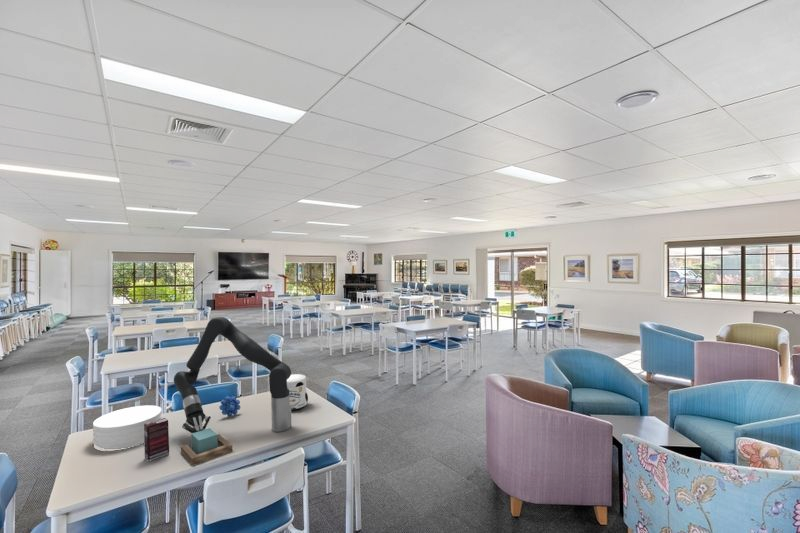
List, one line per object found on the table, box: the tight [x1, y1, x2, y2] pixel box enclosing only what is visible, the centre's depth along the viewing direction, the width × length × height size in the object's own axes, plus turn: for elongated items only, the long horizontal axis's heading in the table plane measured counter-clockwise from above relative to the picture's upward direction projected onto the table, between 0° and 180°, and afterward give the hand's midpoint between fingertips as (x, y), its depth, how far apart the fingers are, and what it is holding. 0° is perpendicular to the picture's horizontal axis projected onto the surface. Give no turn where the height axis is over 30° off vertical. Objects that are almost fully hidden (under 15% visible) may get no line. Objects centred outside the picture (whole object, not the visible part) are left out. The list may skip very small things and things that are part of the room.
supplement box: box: [144, 417, 170, 462], centre depth 167 cm, size 9×5×16 cm, turn 141°
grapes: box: [219, 395, 241, 418], centre depth 211 cm, size 12×7×12 cm, turn 134°
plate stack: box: [92, 404, 163, 449], centre depth 187 cm, size 28×28×12 cm
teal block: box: [191, 427, 219, 455], centre depth 172 cm, size 8×10×8 cm
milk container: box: [287, 373, 309, 411], centre depth 225 cm, size 17×17×18 cm
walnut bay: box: [180, 433, 233, 466], centre depth 171 cm, size 17×16×3 cm
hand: (201, 438), depth 176 cm, fingers closed
